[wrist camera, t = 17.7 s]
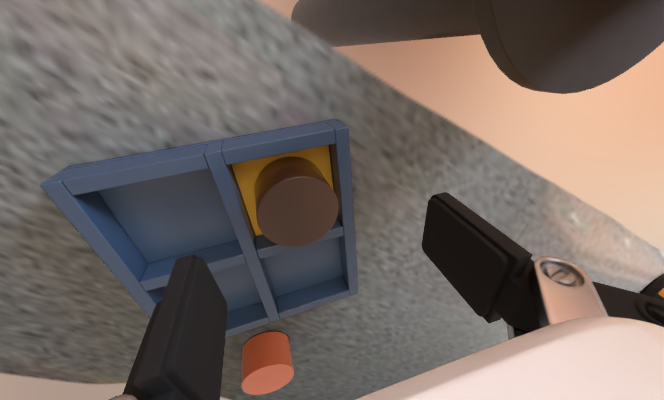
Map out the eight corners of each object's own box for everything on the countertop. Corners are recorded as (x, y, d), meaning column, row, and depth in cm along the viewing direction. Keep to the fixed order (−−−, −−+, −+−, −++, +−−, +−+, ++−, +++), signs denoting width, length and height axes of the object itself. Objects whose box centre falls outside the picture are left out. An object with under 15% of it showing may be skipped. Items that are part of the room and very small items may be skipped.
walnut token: (319, 149, 15) (335, 168, 12) (327, 209, 17) (341, 235, 15) (245, 164, 14) (245, 188, 12) (264, 225, 16) (267, 256, 14)
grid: (337, 118, 15) (348, 126, 13) (350, 275, 22) (358, 293, 21) (65, 167, 12) (37, 184, 10) (184, 328, 19) (179, 354, 18)
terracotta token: (284, 325, 23) (289, 357, 20) (292, 349, 25) (297, 381, 23) (235, 342, 22) (234, 378, 20) (248, 365, 24) (249, 400, 22)
